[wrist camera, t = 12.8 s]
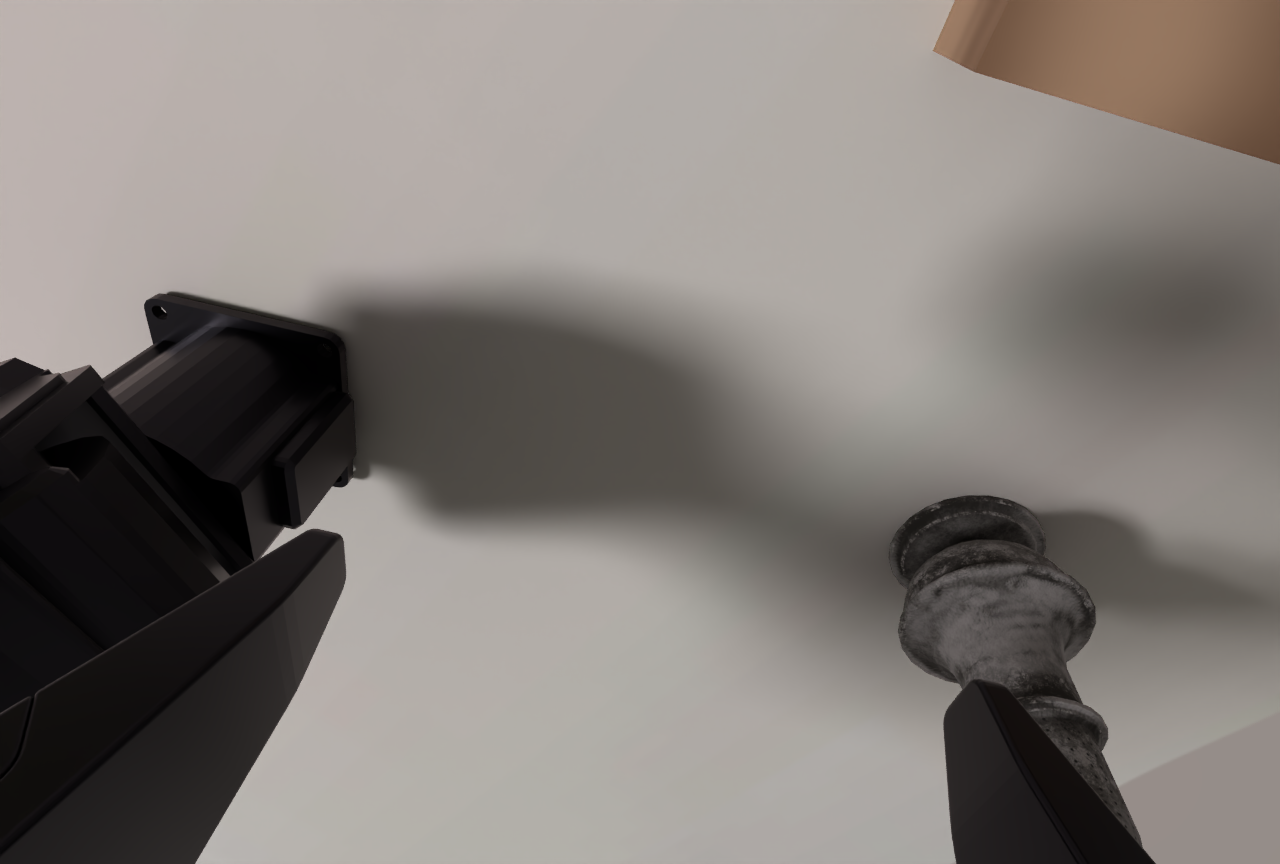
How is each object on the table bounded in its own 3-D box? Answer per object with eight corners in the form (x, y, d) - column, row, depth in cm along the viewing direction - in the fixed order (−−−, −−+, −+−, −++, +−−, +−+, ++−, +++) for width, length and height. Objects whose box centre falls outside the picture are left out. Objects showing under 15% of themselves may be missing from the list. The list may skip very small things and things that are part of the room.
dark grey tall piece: (1035, 467, 23) (1259, 854, 13) (1067, 583, 25) (1273, 977, 16) (859, 517, 25) (938, 884, 15) (906, 620, 28) (999, 988, 18)
